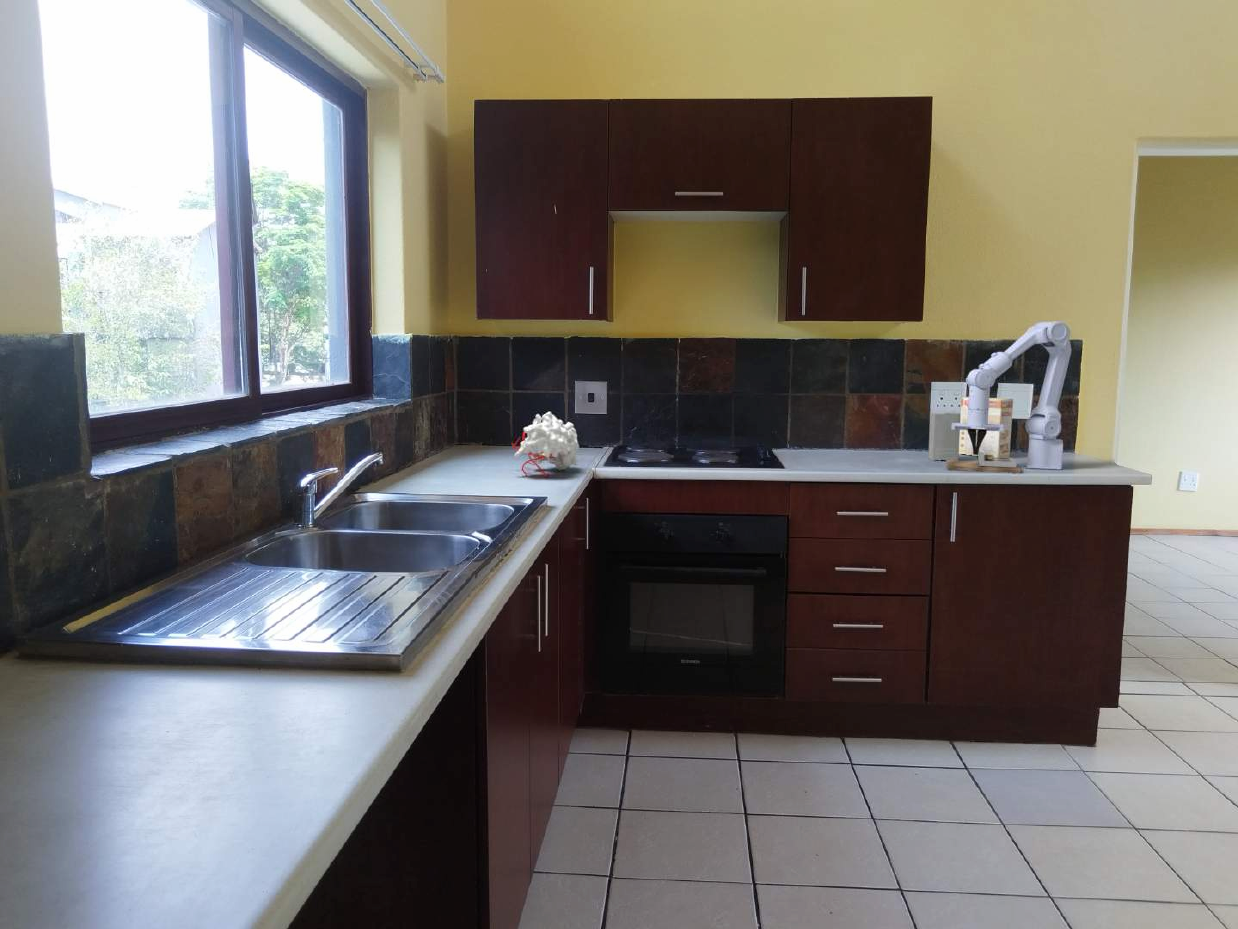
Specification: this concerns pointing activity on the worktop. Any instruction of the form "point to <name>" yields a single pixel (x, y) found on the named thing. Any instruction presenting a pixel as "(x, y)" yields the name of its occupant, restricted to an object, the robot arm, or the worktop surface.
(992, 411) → the coffeecake box
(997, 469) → the board
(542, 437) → the molecular structure model
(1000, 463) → the panel
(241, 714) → the worktop surface
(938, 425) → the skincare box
